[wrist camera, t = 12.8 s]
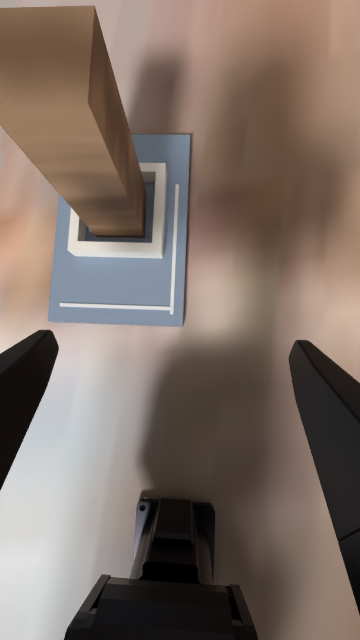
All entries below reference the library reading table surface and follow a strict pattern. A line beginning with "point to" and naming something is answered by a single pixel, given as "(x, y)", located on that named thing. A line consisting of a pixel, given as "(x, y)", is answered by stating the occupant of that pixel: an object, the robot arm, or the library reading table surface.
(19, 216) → the library reading table surface
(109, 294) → the blueprint board
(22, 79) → the walnut column
